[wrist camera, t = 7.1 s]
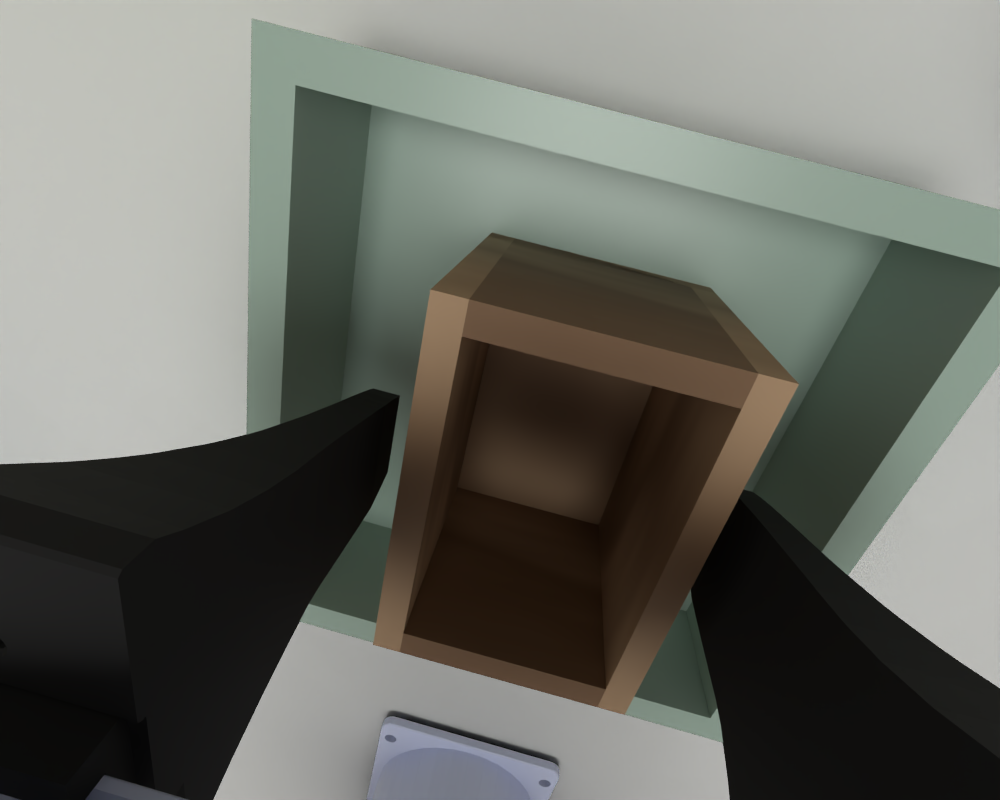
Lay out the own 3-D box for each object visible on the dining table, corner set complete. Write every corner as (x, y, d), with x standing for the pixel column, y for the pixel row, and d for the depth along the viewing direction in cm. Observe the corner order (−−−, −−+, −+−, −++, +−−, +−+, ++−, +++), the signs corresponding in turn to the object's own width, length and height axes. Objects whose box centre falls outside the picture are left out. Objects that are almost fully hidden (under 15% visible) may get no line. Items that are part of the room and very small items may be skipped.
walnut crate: (611, 532, 17) (624, 714, 11) (439, 486, 17) (373, 644, 11) (710, 287, 13) (799, 383, 8) (491, 232, 13) (430, 289, 8)
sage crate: (695, 615, 19) (726, 743, 15) (315, 508, 19) (244, 605, 15) (927, 206, 12) (1093, 233, 8) (355, 59, 13) (251, 17, 9)
